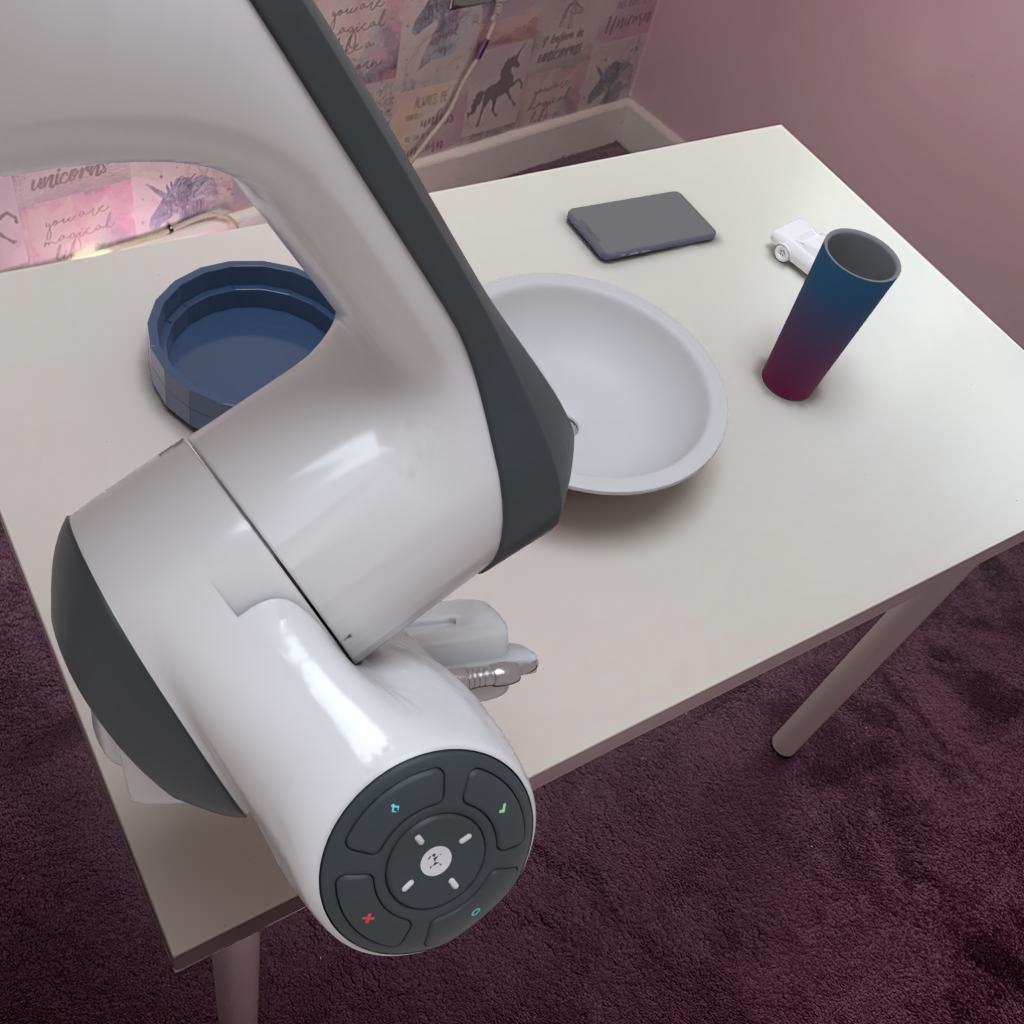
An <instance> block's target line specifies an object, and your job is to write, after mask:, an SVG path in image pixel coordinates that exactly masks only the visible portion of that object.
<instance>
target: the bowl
mask: <svg viewBox="0 0 1024 1024" xmlns="http://www.w3.org/2000/svg"><path fill="white" fill-rule="evenodd" d="M151 308H152V309H151V311H150V313H149V317H148V319H147V323H146V324H147V338H148V339H147V340H148V358H149V367H150V376H151V383H152V385H153V387H154V389H155V390H156V391H157V394H158V395H159V397H160V398H161V401H163V403H164V405H165V407H167V408H168V409H169V410H170V411H171V412H173V413H174V414H175V415H176V416H177V417H179V418H180V419H181V420H182V421H184V422H185V423H186V424H188V425H189V426H190V427H192V428H195V429H196V430H199V429H201V428H202V427H204V426H205V425H207V424H208V423H210V422H211V421H213V420H214V419H216V418H217V417H219V416H220V415H222V414H223V413H225V412H226V411H228V410H229V409H231V408H232V407H234V406H235V405H237V404H238V403H240V402H241V401H243V400H244V399H246V398H247V397H249V396H250V395H252V394H253V393H255V392H256V391H258V390H259V389H261V388H262V387H264V386H265V385H266V384H268V383H269V382H271V381H272V380H274V379H275V378H277V377H278V376H280V375H281V374H283V373H284V372H286V371H287V370H289V369H290V368H292V367H293V366H295V365H296V364H298V363H299V362H300V361H302V360H303V359H304V358H305V357H306V356H308V355H309V354H310V353H311V352H312V351H313V350H314V349H315V347H316V346H317V345H318V344H319V343H320V342H321V340H322V339H323V338H324V336H325V335H326V333H327V332H328V330H329V329H330V327H331V325H332V323H333V321H334V318H335V314H336V311H335V310H334V308H333V307H332V306H331V305H330V303H329V302H328V301H327V300H326V298H325V297H324V296H323V294H322V293H321V292H320V291H319V289H318V288H317V287H316V285H315V284H314V283H313V281H312V280H311V279H310V278H309V276H308V275H307V274H306V272H305V271H304V270H303V269H302V268H298V267H296V266H293V265H288V264H282V263H277V262H271V261H267V260H227V261H222V262H219V263H215V264H210V265H206V266H200V267H199V268H196V269H195V270H192V271H191V272H188V273H187V274H185V275H183V276H181V277H179V278H177V279H175V280H173V281H172V283H170V284H169V286H168V287H167V288H166V289H164V291H163V292H162V293H161V294H160V295H158V297H157V298H156V299H155V300H154V303H153V306H152V307H151Z"/></svg>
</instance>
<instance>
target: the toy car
mask: <svg viewBox="0 0 1024 1024" xmlns="http://www.w3.org/2000/svg"><path fill="white" fill-rule="evenodd" d="M826 235H827V234H825V233H822V232H820V231H818V230H817V229H816V228H815V227H813V226H812V225H811V224H809V223H808V222H806V221H805V220H803V219H802V218H798V219H795V220H793V221H790V222H788V223H786V224H785V225H782V226H780V227H778V228H777V229H775V230H773V232H772V233H771V235H770V240H771V242H772V244H773V245H774V246H775V249H774V256H775V258H776V259H777V261H779V262H783V263H785V262H790V263H792V264H793V265H795V266H796V267H797V268H798V269H800V270H801V271H802V272H803V273H804V274H806V276H807V275H808V273H809V271H810V269H811V267H812V264H813V262H814V260H815V258H816V256H817V254H818V252H819V250H820V248H821V245H822V243H823V241H824V239H825V237H826Z"/></svg>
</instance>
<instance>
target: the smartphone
mask: <svg viewBox="0 0 1024 1024" xmlns="http://www.w3.org/2000/svg"><path fill="white" fill-rule="evenodd" d="M702 215H703V214H701V213H700V212H699V211H698V210H697V209H696V208H695V207H694V206H693V205H692V203H690V202H689V200H688V199H687V198H686V197H685V196H684V195H683V194H682V193H681V192H679V191H677V190H675V191H674V190H673V191H667V192H661V193H655V194H649V195H644V196H637V197H632V198H626V199H620V200H619V199H618V200H614V201H607V202H602V203H597V204H596V203H595V204H591V205H584V206H578V207H574V208H573V207H572V208H571V209H569V210H568V213H567V216H566V218H567V220H568V221H569V222H570V223H571V224H572V225H573V226H574V228H575V229H576V230H577V231H578V233H579V234H580V235H581V236H582V238H584V239H585V241H586V242H587V244H589V246H590V248H592V249H593V251H595V253H596V254H597V255H598V256H599V258H602V259H603V260H607V261H609V260H614V259H619V258H625V257H629V256H634V255H640V254H645V253H650V252H654V251H659V250H664V249H670V248H674V247H679V246H684V245H688V244H693V243H698V242H699V243H700V242H703V241H704V242H705V241H709V240H712V239H713V238H715V237H716V235H717V230H716V229H715V228H714V227H713V226H712V225H711V224H710V223H709V222H708V221H707V219H706V218H705V217H704V216H702Z"/></svg>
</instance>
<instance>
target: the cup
mask: <svg viewBox="0 0 1024 1024" xmlns="http://www.w3.org/2000/svg"><path fill="white" fill-rule="evenodd" d="M825 235H826V237H825V239H824V241H823V243H822V245H821V248H820V250H819V252H818V254H817V256H816V258H815V260H814V262H813V264H812V267H811V269H810V271H809V273H808V275H807V274H806V277H805V279H804V282H803V283H802V286H801V288H800V290H799V293H798V294H797V296H796V299H795V301H794V303H793V305H792V307H791V308H790V311H789V314H788V315H787V318H786V319H785V321H784V323H783V326H782V328H781V330H780V332H779V334H778V337H777V338H776V341H775V343H774V345H773V347H772V349H771V352H770V354H769V356H768V358H767V360H766V363H765V364H764V366H763V368H762V372H761V377H762V381H763V382H764V384H765V385H766V387H767V388H768V389H769V390H770V391H771V392H772V393H774V394H775V395H777V396H778V397H780V398H783V399H785V400H789V401H805V400H806V399H808V398H810V396H811V395H812V394H813V393H814V391H815V390H816V389H817V388H818V386H819V384H821V382H822V381H823V380H824V378H825V377H826V376H827V374H828V373H829V371H830V370H831V368H832V367H833V366H834V365H835V363H836V362H837V361H838V359H839V358H840V356H841V354H843V352H844V351H845V349H847V347H848V346H849V344H850V342H851V341H852V340H853V339H854V337H855V336H856V335H857V333H858V332H859V330H861V328H862V327H863V325H864V324H865V322H866V321H867V320H868V319H869V317H870V316H871V315H872V313H873V312H874V311H875V309H876V307H877V306H878V305H879V304H880V303H881V301H882V300H883V298H884V297H885V296H886V294H887V293H888V292H889V290H890V289H891V287H892V286H893V285H894V283H895V282H897V279H898V278H899V277H900V275H901V272H902V263H901V260H900V258H899V257H898V255H897V253H896V252H895V251H894V250H893V248H891V246H889V245H888V244H887V243H886V242H884V240H881V239H880V238H878V237H877V236H876V235H873V234H871V233H868V232H865V231H863V230H860V229H856V228H850V227H849V228H848V227H845V228H844V227H842V228H836V229H833V230H831V231H829V232H828V233H827V234H825Z"/></svg>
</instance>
